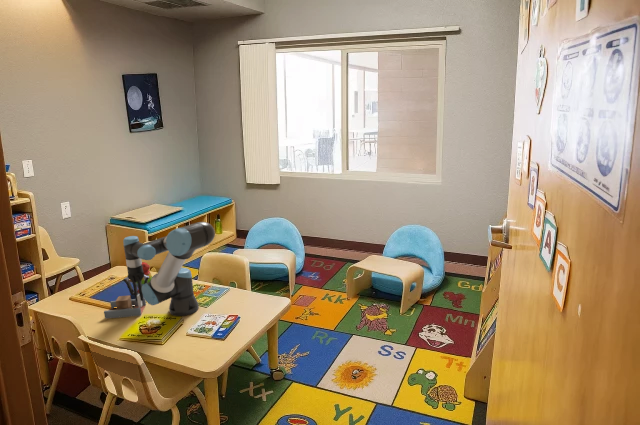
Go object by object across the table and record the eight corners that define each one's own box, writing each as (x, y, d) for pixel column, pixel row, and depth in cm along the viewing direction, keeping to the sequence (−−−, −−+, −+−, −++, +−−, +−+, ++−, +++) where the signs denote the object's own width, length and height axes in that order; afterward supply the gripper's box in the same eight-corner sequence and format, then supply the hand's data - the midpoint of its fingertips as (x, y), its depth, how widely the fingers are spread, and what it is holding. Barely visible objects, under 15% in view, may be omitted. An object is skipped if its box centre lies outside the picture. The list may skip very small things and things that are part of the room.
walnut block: (132, 308, 251) (130, 295, 249) (129, 313, 246) (127, 300, 244) (120, 309, 251) (118, 296, 249) (117, 314, 245) (115, 301, 243)
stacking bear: (158, 290, 274) (155, 262, 269) (142, 295, 267) (138, 267, 262) (150, 285, 281) (146, 257, 276) (134, 290, 274) (129, 262, 269)
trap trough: (146, 304, 255) (145, 298, 254) (140, 315, 243) (139, 308, 242) (112, 307, 253) (110, 301, 252) (105, 318, 241) (103, 311, 240)
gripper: (149, 261, 247) (154, 301, 253) (123, 263, 245) (129, 304, 251) (145, 266, 240) (151, 308, 246) (119, 268, 238) (126, 310, 244)
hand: (140, 306), depth 249 cm, fingers closed
